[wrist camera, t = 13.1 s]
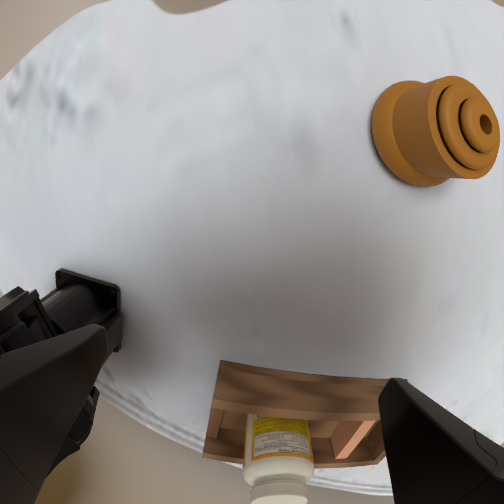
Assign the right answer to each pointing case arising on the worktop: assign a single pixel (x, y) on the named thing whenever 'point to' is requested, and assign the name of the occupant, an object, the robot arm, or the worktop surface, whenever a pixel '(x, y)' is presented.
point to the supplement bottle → (277, 459)
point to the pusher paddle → (348, 436)
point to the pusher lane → (293, 411)
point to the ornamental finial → (435, 131)
